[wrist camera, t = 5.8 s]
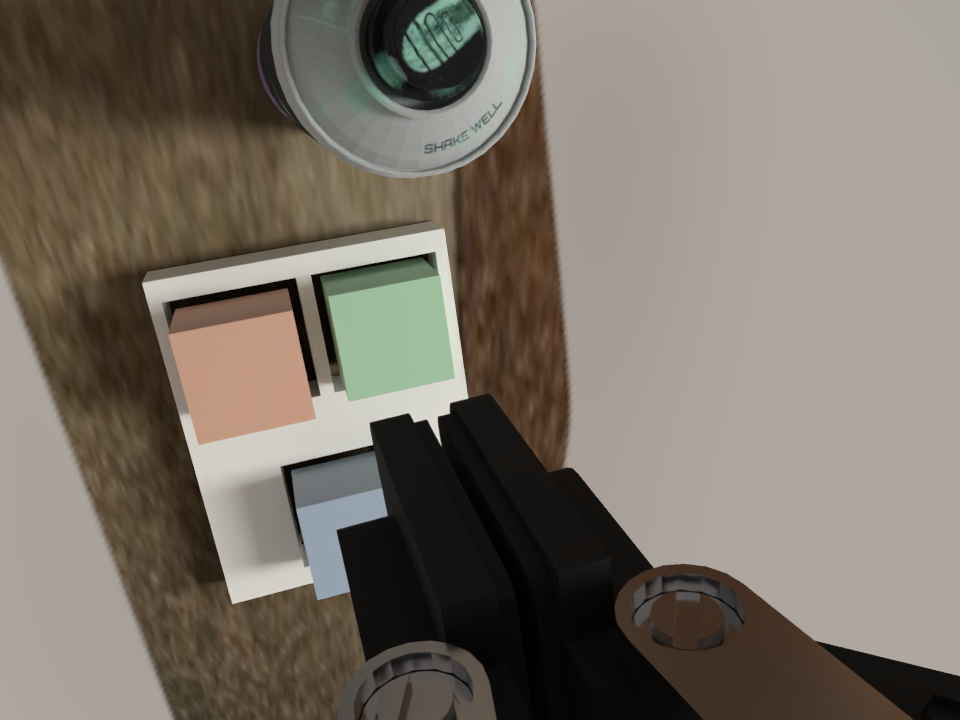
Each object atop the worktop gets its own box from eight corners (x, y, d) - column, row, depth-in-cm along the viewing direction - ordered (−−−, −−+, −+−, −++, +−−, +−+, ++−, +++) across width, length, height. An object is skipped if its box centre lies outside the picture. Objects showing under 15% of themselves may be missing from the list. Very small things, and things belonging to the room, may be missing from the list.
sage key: (319, 276, 34) (328, 296, 31) (421, 257, 35) (439, 275, 32) (339, 373, 36) (348, 401, 33) (436, 352, 37) (455, 378, 34)
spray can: (238, 100, 32) (235, 131, 14) (282, -40, 31) (342, -208, 13) (369, 152, 34) (518, 238, 16) (415, 22, 33) (631, -48, 15)
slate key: (291, 470, 36) (295, 509, 32) (390, 447, 37) (404, 482, 33) (310, 555, 37) (317, 600, 34) (405, 531, 38) (420, 572, 35)
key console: (147, 271, 33) (141, 283, 31) (433, 220, 36) (443, 228, 34) (232, 579, 38) (232, 603, 37) (476, 516, 41) (487, 536, 39)
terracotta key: (175, 309, 32) (168, 334, 29) (287, 287, 33) (292, 310, 30) (202, 410, 34) (198, 445, 31) (309, 387, 35) (315, 419, 31)
